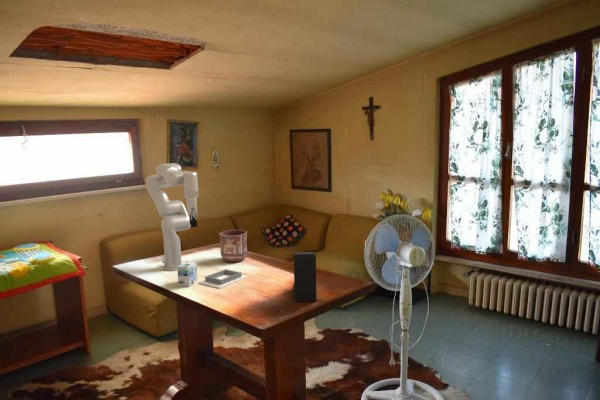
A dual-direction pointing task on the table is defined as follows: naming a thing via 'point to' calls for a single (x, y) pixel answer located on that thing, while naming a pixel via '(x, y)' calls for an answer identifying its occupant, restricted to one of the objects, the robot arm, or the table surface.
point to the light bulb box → (187, 274)
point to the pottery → (233, 245)
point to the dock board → (223, 278)
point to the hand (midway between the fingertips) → (193, 225)
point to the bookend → (305, 276)
